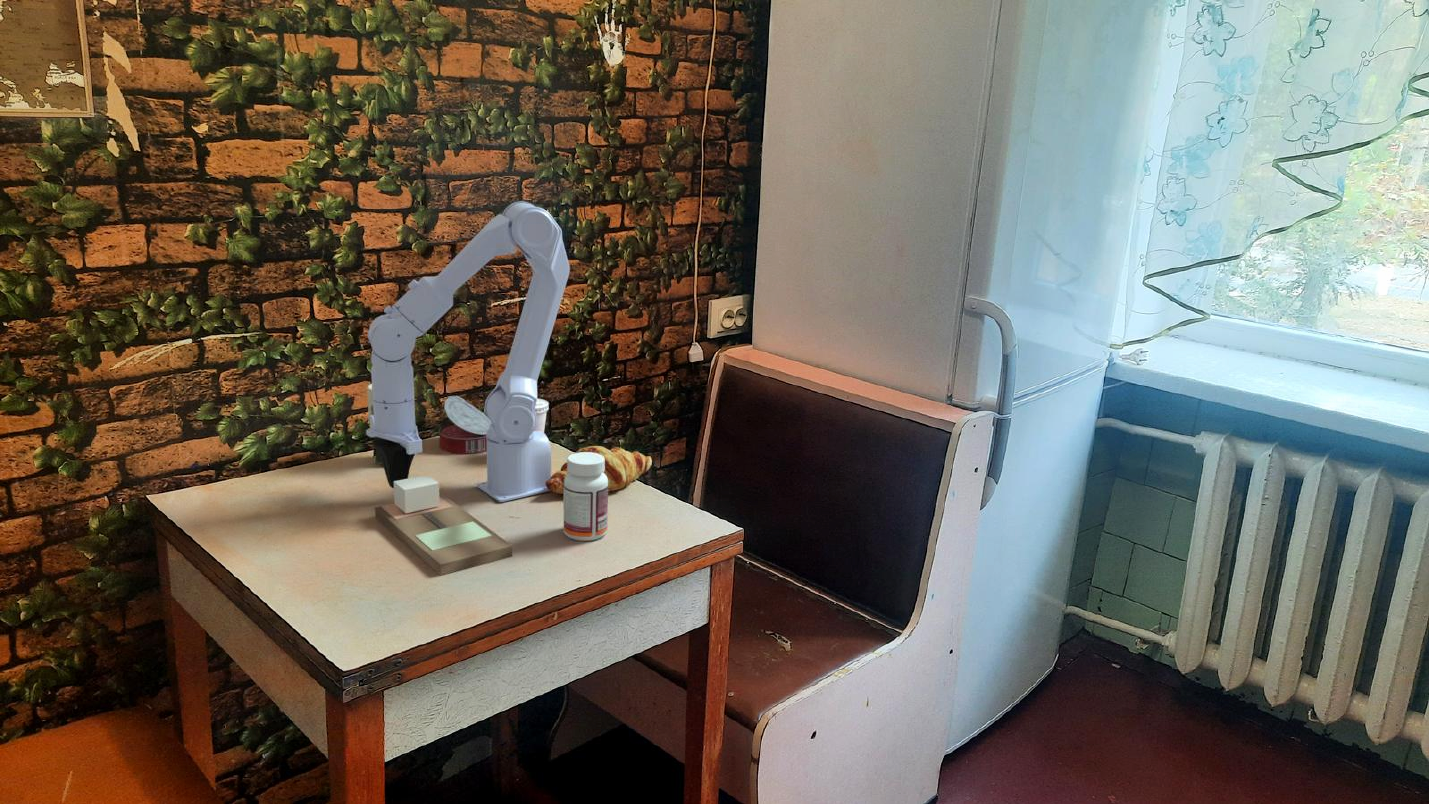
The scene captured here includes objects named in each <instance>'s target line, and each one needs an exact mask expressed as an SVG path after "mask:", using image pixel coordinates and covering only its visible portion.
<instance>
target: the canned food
mask: <svg viewBox="0 0 1429 804" xmlns="http://www.w3.org/2000/svg"><path fill="white" fill-rule="evenodd" d="M443 408H444V412H445V414H446V416H447V418H448V419H449V420H450V421H451V422H452V423H449V424H446V425H444V426H442V427H440V428H439V430H438V431H439V434H438V435H439V448H440V449H441V450H442V452H446V453H450V454H452V455H453V454H454V455H479V454H484V453H487V439H486V438H487V436H486V433H487V431H488V430H489V428H490V426H491V424H492V421H491V420H490V419H489V418H488V417H487V415H486V413H484V412H483V411H481V410H479V409H478V408H477V407H476V406H474V405H473V404H471V403H469V402H468V401H467V400H465V398H462V397H461V396H458V395H450V396H449V397H447V398H446V399H445V401H444V406H443Z"/></svg>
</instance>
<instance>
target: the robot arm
mask: <svg viewBox="0 0 1429 804" xmlns="http://www.w3.org/2000/svg"><path fill="white" fill-rule="evenodd" d="M564 244H565V243H564V241H563V231H562V228H561V227H560V226H559V224H558V223H557V222H556V220H555V218H554V217H553V216H552V215H551V214H550V212H548V211H547V210H545V209H544V208H542V207H540V206H536V205H534V204H532V203H530V202H527V201H515V202H512V203H511V204H509V205H508V206H506V208H505V209H504V210H503V212H502V214H501V213H499V214H497V215H496V216H494V217H493V218H492V219H491V220H490V221H489V222H488V223H486V225H485V226H484V227H483V228H481V230H480V231H479V232H478V233H477V234H475V236H474V237H473V238H472V239H471V240H470V241H469V242H468V243H467V244H466V245H465V247H463V249H461V251H460V252H458V254H456V256H455V257H454V258H453V259H452V260H451V261H450V262H449V263H448V264H447V265H446V266H445V267H444V268H443V269H442V271H440V272H439V273H438V274H437V275H436V276H422V277H421V278H420V279H419V280H418V281H417V280H416V279H412V280H411V282H409V283H408V285H407V286H408V288H409V290H408V291H407V292H406V293H405V294H403V295H402V297H400V298H399V299H398V300H397V301H396V302H395V303H394V304H393V305H392V306H391V305H387V306H386V307H385V308H384V313H385V314H382V315H380V316H378V317H376V318H375V319H374V320H372V322H371V323H370V325H369V329H368V332H367V334H366V335H367V338H368V341H369V343H370V345H371V348H372V349H371V351H372V352H371V357H370V359H371V364H372V366H371V369H370V374H371V376H370V377H371V384H372V395H373V412H374V415H371V416H370V423H369V425H370V428H368V429H366V430H365V433H366V436H368V437H369V438H375V437H380V438H382V439H377V440H375V439H373V440H372V441H371V442H372V443H371V444H372V446H373V448H374V447H375V449H376V451H377V452H378V454H379V456H380V459H381V461H382V463H381V464H382V466H383V471H384V473H385V477H386V480H387V483H388V486H389V487H390V488H391V489H393V490H394V481H398V480H403V479H408V478H409V475H410V470H411V466H412V463H413V460H414V457H415V455H416V454H420V453H423V439H421V438H420V436H419V430H418V426H417V425H416V410H415V409H416V408H415V406H416V404H415V384H414V382H415V381H414V380H415V379H414V367H413V365H412V353H413V351H414V349H415V346H416V339H417V338H419V337H422V336H423V335H424V334H425V333H427V331H428V330H430V328H432V326H434V325H435V324H436V323H437V322H438V320H440V319H441V318H442V317H443V316H444V315H445V314H446V313H447V312H448V311H449V310H450V309H451V308H452V307H453V306H454V293H456V291H457V290H458V289H459V288H461V287H462V286H463V285H464V284H465V283H466V282H467V281H468V280H469V279H471V278H472V277H473V276H474V275H475V274H477V273H478V272H479V271H480V270H481V269H482V268H483V267H484V266H486V264H487V263H489V262H490V261H491V260H493V258H495V257H498V256H505V255H506V256H507V255H515V254H517V253H518V251H517V250H516V248H515V247H517V248H518V249H519V250H520V251H521V252H522V254H523V256H524V257H525V260H527V262H528V264H529V266H530V267H531V269H532V271H533V273H532V276H531V280H530V283H529V286H528V289H527V294H526V297H525V300H524V304H523V307H522V312H521V313H520V317H519V322H518V324H517V327H516V331H515V335H514V338H513V340H512V341H513V342H512V344H511V347H510V351H509V355H508V359H507V362H506V365H505V368H504V371H503V372H502V373H501V374H500V375H499V377H498V378H497V383H496V386H495V387H494V388H493V390H492V391H491V392H490V393H489V394H488V396H487V397H486V399H485V403H484V412H485V413H484V414H485V415H486V416H487V417H488V418H489V419H490V420H491V421H492V424H491V426H490V428H489V430H488V431H487V433H486V436H487V438H486V439H487V452H486V479H487V481H483V482H478V483H477V484H476V487H477V488H479V489H480V490H481V491H482V492H484V493H485V494H487V495H488V496H490V497H491V498H493V499H494V500H495V501H497V502H499V503H504V502H507V501H512V500H517V499H521V498H526V497H529V496H533V495H534V496H535V495H538V494H542V493H547V492H551V491H550V490H548V489H547V487H546V481H547V480H549V479H550V478H551V477H552V446H551V442H550V440H549V438H548V436H547V435H546V433H545V432H544V433H543V432H542V431H534V429H535V427H536V422H537V419H536V414H535V406H536V402H537V399H538V379H539V376H540V372H541V370H542V365H543V362H544V359H545V356H546V353H547V349H548V346H549V343H550V338H551V336H552V332H553V328H554V325H555V322H556V318H557V315H558V312H559V309H560V305H561V302H562V299H563V296H564V292H565V288H566V286H567V282H568V279H569V275H570V270H571V268H570V266H571V265H570V263H569V259H568V255H567V252H566V249H565V245H564Z"/></svg>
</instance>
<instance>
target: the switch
mask: <svg viewBox="0 0 1429 804" xmlns="http://www.w3.org/2000/svg"><path fill="white" fill-rule="evenodd" d="M439 504H440V506H437V507H432V508H428V509H423V510H419V511H414V512H410V513H405V512H403V511H402V510H401V509H400V508H399V507H397V506H396V505H395V502H392V503H390V504H384V505H379V506H376V507H374V514H375V515H374V516H375V519H376V520H378V521H379V522H380V523H381V524H382V525H383V526H385V527H386V528H387V529H388V530H389V531H390V532H391V533H393V535H395V536H396V537H397V538H398V539H399V540H400V541H401V542H403V543H404V544H405V545H406V546H407V547H408V548H410V550H412V551H413V552H414V553H415V554H416V555H417V556H419V557H420V558H421V559H422V560H423V561H424V562H425V563H426V564H428V565H429V566H430V567H431V568H432V569H433V570H434V571H436V572H437V573H438V575H440V576H444V575H447V574H451V573H456V572H458V571H463V570H467V569H471V568H474V567H477V566H481V565H485V564H490V563H492V562H496V561H500V560H503V559H507V558H511V557H513V545H512V544H511V543H509V542H507V541H506V540H505V539H504V538H502V537H501V536H499V534H497V533H496V532H494V531H493V530H491V529H490V528H489V527H488V526H486V525H485V524H483V523H482V522H481V521H479V520H478V519H476V517H474V516H473V515H472V514H470V513H469V512H467V511H466V510H464V509H463V508H462V507H460V505H458V504H456V503H455V501H453V500H451V499H450V498H448V497H447V496H446V495H444V494H442V493H439Z"/></svg>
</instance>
